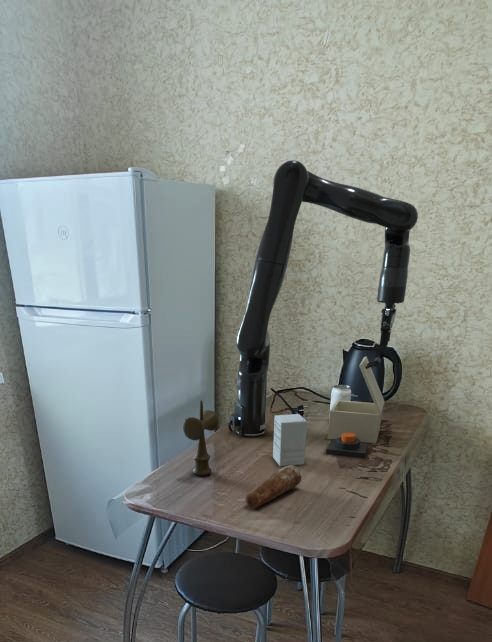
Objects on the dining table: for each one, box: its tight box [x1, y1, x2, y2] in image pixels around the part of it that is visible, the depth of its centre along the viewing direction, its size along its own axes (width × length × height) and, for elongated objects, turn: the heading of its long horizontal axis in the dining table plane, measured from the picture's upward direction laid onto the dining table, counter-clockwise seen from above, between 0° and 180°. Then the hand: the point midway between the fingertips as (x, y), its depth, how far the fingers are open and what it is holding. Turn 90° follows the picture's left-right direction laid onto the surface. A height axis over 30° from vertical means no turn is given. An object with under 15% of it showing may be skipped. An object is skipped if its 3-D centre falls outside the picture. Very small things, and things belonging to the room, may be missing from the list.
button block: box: [325, 437, 369, 459], centre depth 169 cm, size 11×9×4 cm
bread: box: [245, 465, 302, 509], centre depth 140 cm, size 6×19×6 cm, turn 140°
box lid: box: [358, 355, 385, 414], centre depth 175 cm, size 16×14×5 cm
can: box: [328, 384, 352, 418], centre depth 194 cm, size 6×6×12 cm
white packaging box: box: [272, 413, 308, 467], centre depth 160 cm, size 7×7×13 cm
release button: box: [341, 433, 356, 443], centre depth 168 cm, size 4×4×2 cm
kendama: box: [182, 399, 220, 477], centre depth 150 cm, size 6×10×20 cm, turn 150°
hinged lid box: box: [327, 400, 383, 444], centre depth 182 cm, size 15×14×9 cm
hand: (384, 343), depth 170 cm, fingers open, 8 cm apart
